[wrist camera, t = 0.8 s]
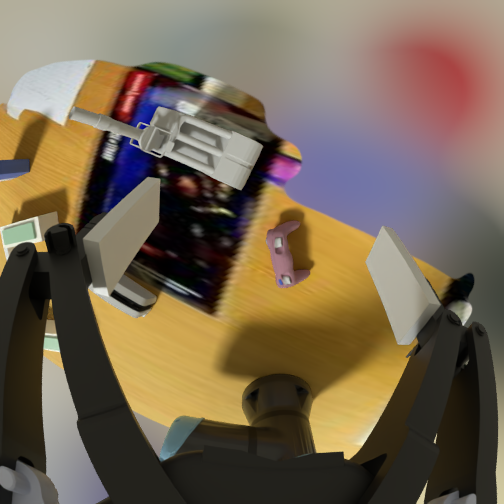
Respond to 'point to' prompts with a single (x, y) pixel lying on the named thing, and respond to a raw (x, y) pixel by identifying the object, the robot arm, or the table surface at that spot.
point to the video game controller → (284, 255)
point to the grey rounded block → (129, 297)
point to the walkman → (13, 168)
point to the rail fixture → (32, 233)
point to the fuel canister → (187, 142)
